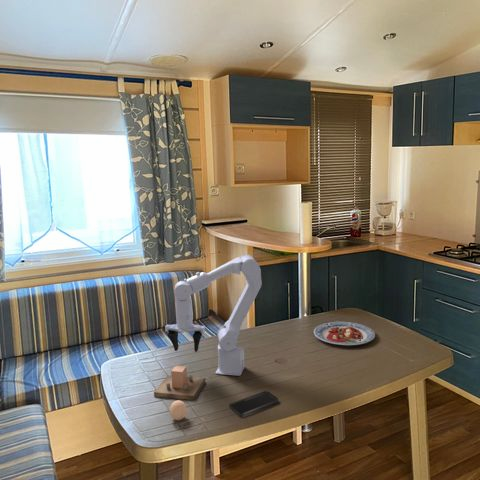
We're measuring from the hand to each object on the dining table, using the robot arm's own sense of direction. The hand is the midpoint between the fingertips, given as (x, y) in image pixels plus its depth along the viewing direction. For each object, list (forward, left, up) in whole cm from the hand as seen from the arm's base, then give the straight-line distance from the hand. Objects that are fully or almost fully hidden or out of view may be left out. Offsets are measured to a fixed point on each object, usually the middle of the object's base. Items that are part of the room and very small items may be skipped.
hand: (186, 350), depth 158 cm
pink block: (-1, +11, -8) cm, 13 cm away
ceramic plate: (-56, -43, -10) cm, 71 cm away
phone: (-28, +16, -10) cm, 34 cm away
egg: (-7, +28, -10) cm, 30 cm away
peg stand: (-1, +11, -9) cm, 14 cm away
